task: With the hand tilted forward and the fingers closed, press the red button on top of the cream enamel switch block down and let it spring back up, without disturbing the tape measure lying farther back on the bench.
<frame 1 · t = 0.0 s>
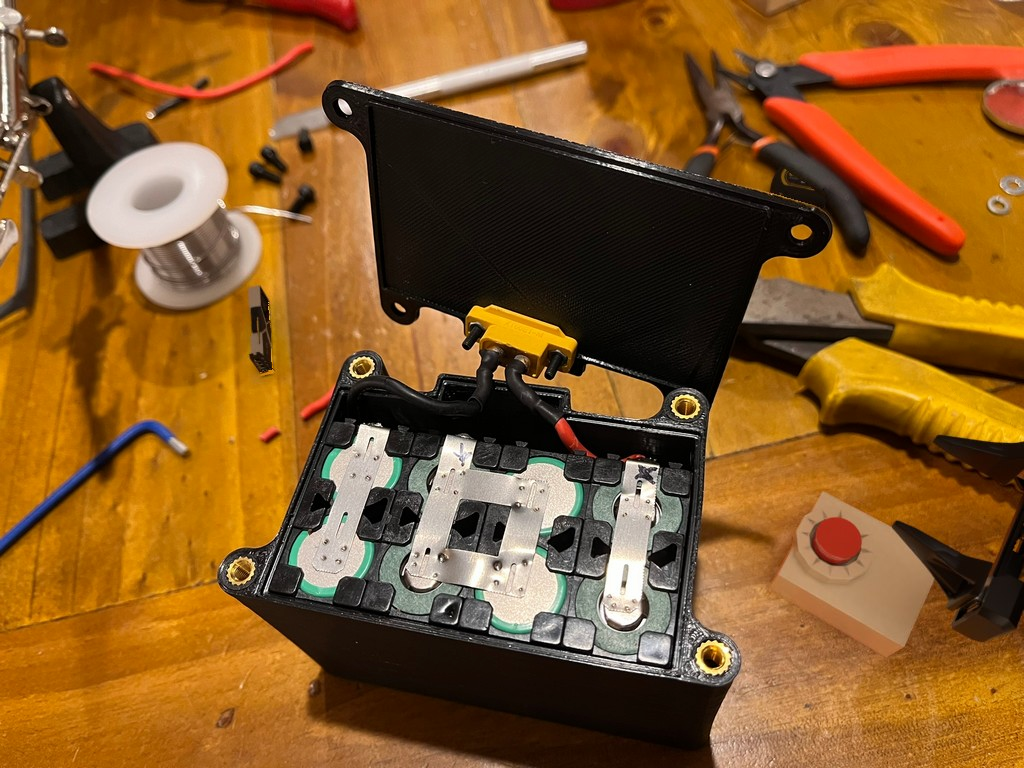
hand: (914, 479, 66), 15 cm above the table, tool horizontal, fingers open, 9 cm apart
switch block: (846, 579, 77), on the table
tape measure: (796, 204, 102), on the table
red button: (836, 540, 72), point 7 cm above the table, slide at 0.1 cm
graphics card: (266, 338, 100), on the table
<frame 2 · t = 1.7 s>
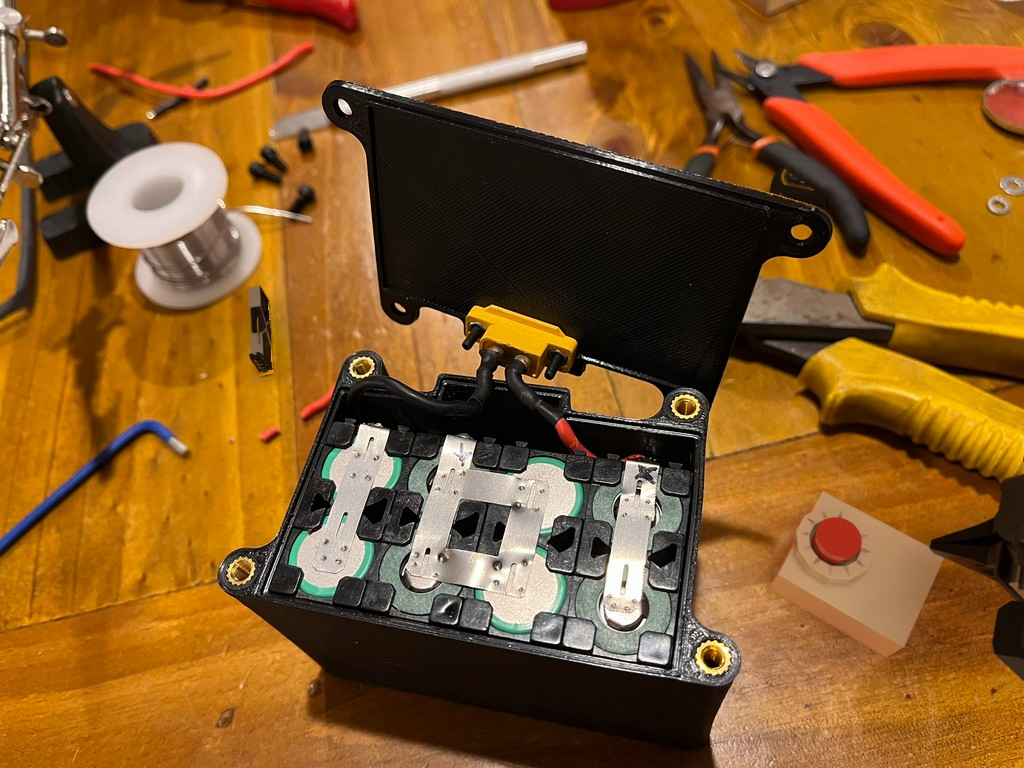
hand: (932, 546, 65), 13 cm above the table, tool tilted 45°, fingers closed
nothing on the table moved.
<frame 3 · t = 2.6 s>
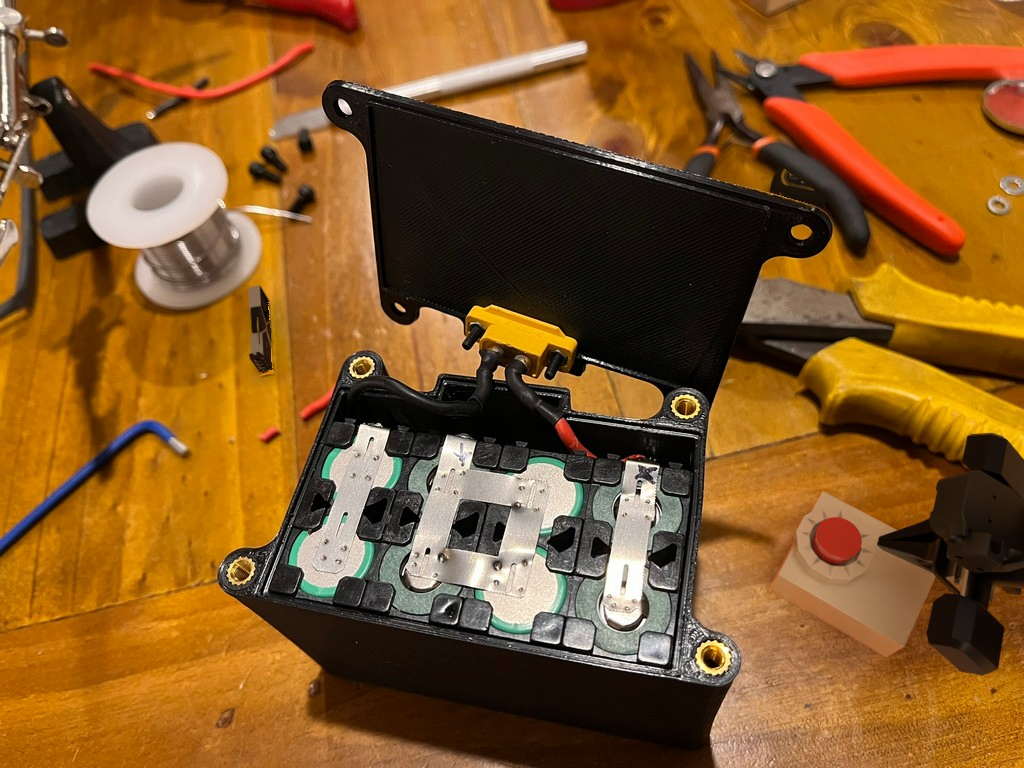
hand: (879, 543, 69), 10 cm above the table, tool tilted 45°, fingers closed
nothing on the table moved.
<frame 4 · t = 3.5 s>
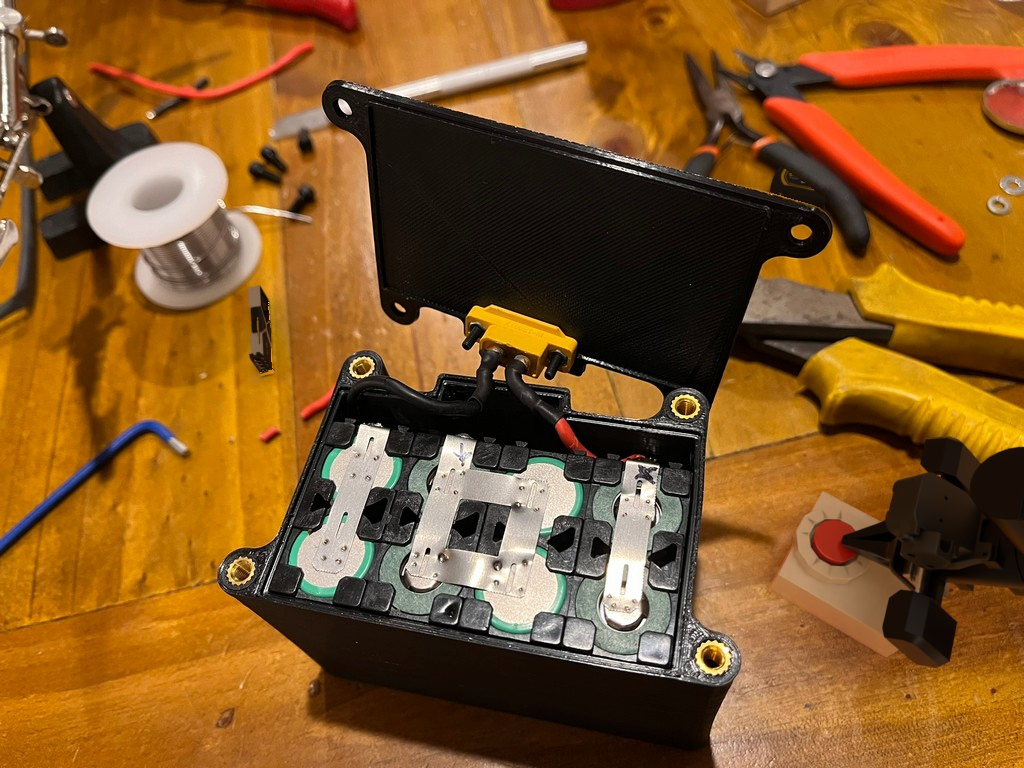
hand: (843, 542, 71), 8 cm above the table, tool tilted 45°, fingers closed, pressing on red button
red button: (834, 543, 73), point 7 cm above the table, slide at -0.7 cm, touching gripper
everything else where it was.
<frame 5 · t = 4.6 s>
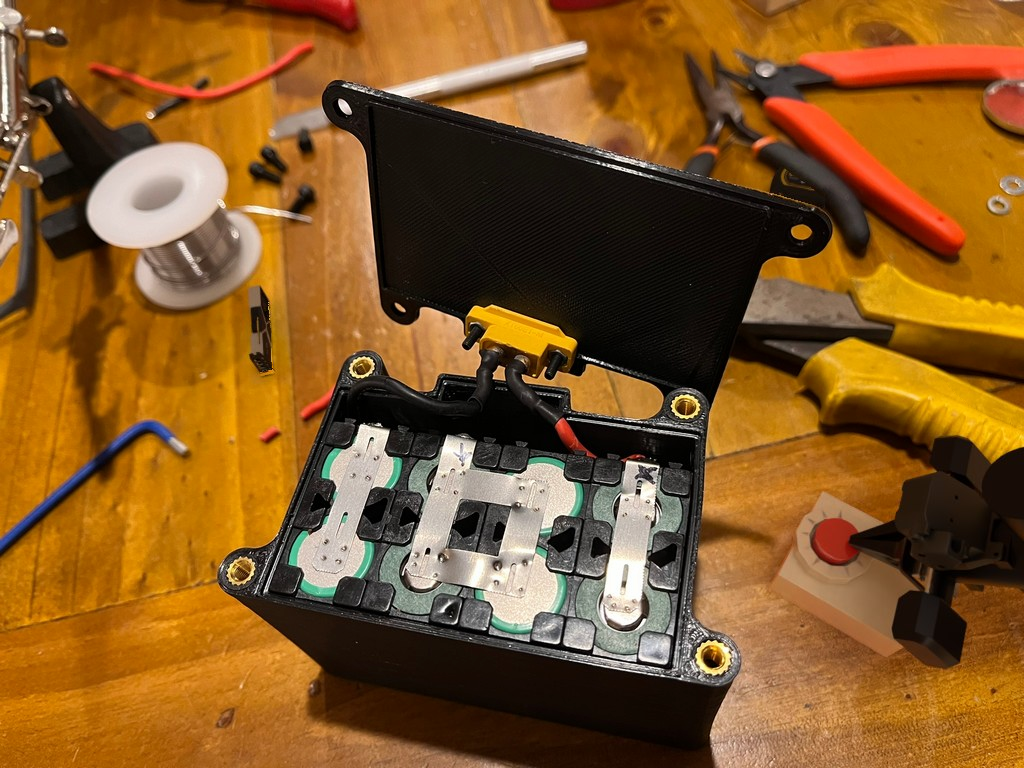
hand: (851, 541, 71), 8 cm above the table, tool tilted 45°, fingers closed
red button: (836, 541, 72), point 7 cm above the table, slide at -0.1 cm
everything else where it was.
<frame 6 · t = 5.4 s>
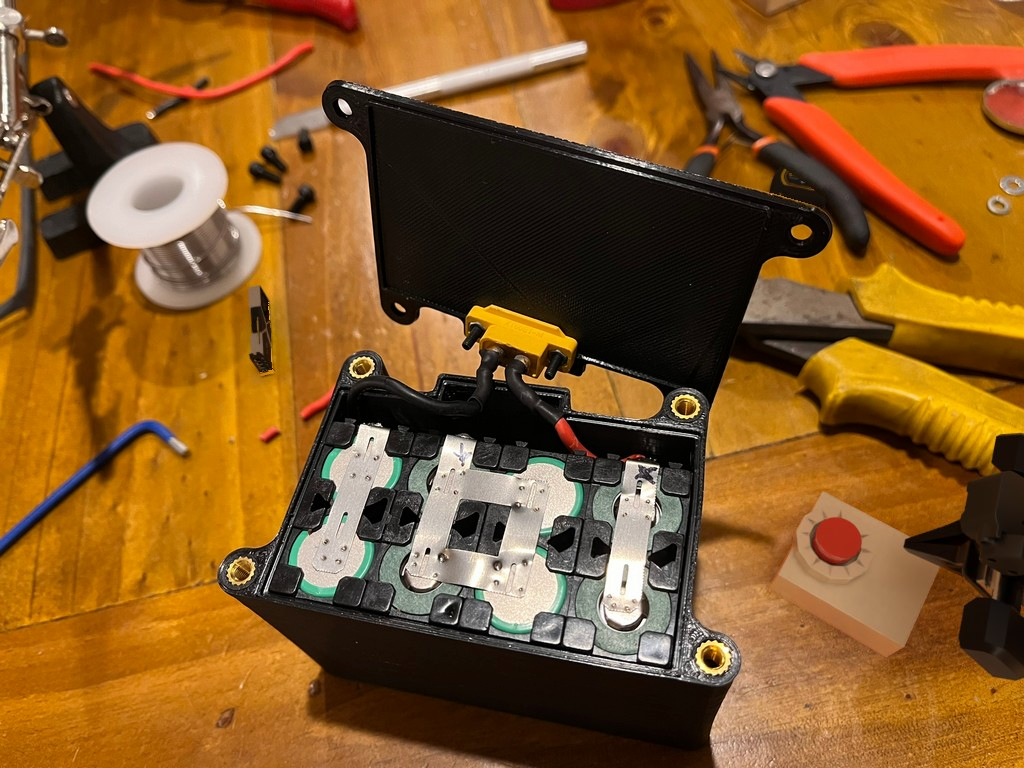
hand: (906, 545, 67), 11 cm above the table, tool tilted 45°, fingers closed
nothing on the table moved.
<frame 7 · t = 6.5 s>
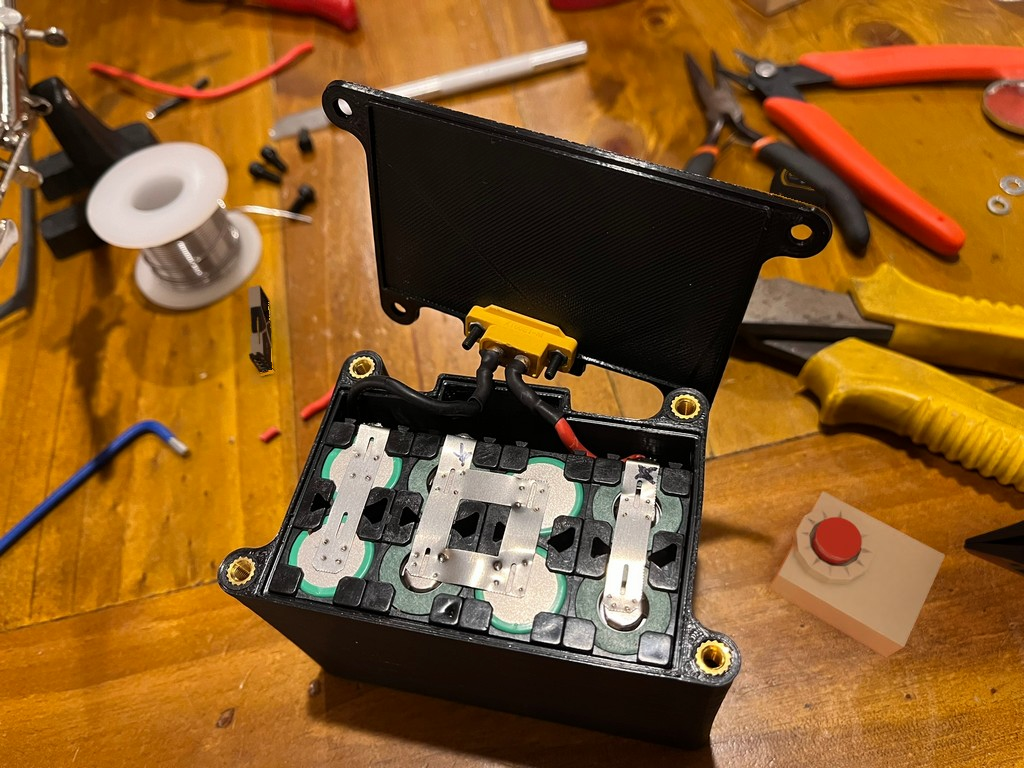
hand: (966, 546, 65), 13 cm above the table, tool tilted 45°, fingers closed
nothing on the table moved.
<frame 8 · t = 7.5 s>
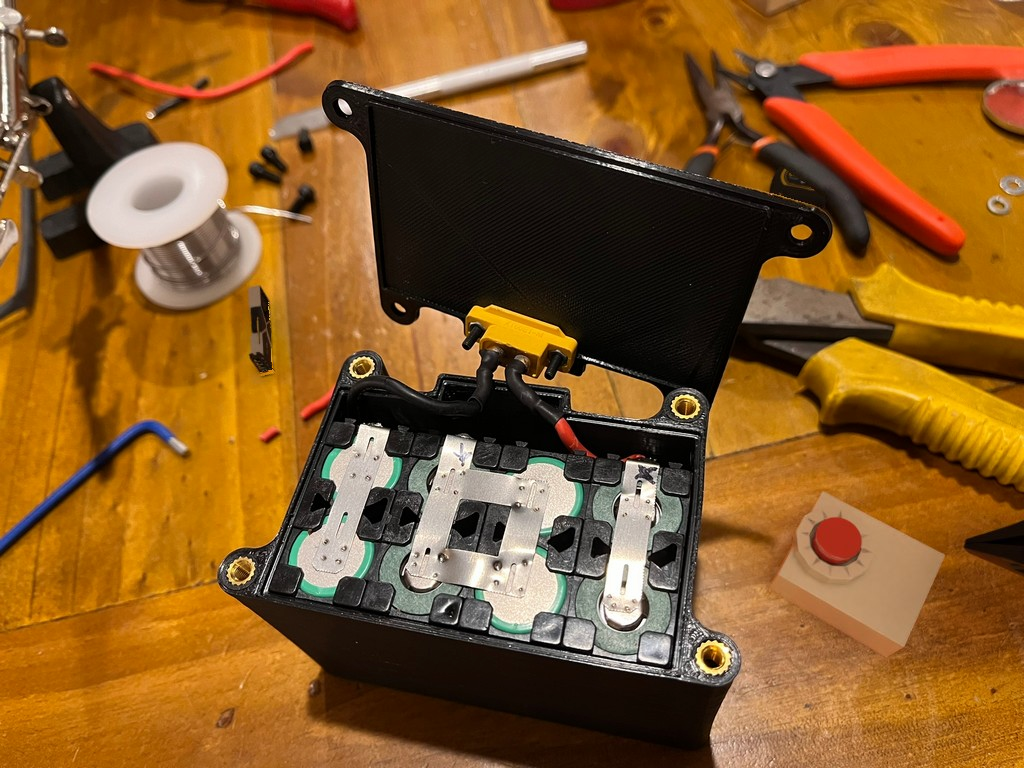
hand: (966, 546, 65), 13 cm above the table, tool tilted 45°, fingers closed
nothing on the table moved.
at the end: red button pushed in 1.3 cm at the most during the clip, back to where it started at the end; red button slide at 0.1 cm; tape measure moved 0.2 cm from its start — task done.
